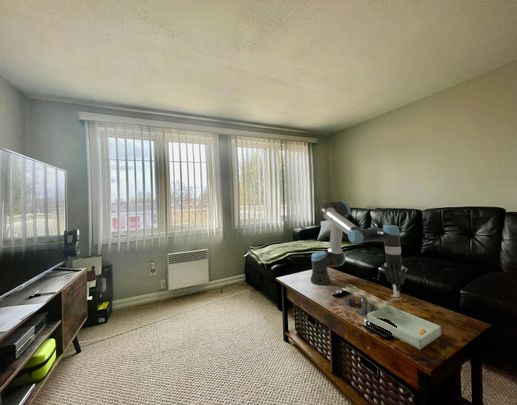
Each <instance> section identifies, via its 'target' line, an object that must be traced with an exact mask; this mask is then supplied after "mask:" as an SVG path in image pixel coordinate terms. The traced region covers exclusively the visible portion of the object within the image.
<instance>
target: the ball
mask: <svg viewBox="0 0 517 405" xmlns="http://www.w3.org/2000/svg"><path fill="white" fill-rule="evenodd" d="M426 332H427V331H426V330H424V329H420V330H419V334H420V335H421V336H422V335H423V334H425V333H426Z"/></svg>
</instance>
